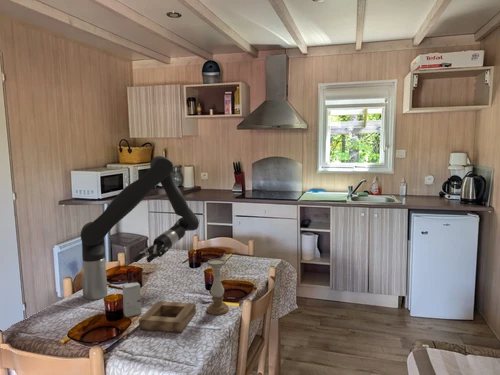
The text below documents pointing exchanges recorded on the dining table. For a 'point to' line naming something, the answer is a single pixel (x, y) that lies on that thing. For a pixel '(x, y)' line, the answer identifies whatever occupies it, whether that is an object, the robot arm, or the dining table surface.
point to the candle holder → (217, 289)
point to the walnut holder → (167, 317)
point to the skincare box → (131, 299)
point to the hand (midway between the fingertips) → (140, 260)
